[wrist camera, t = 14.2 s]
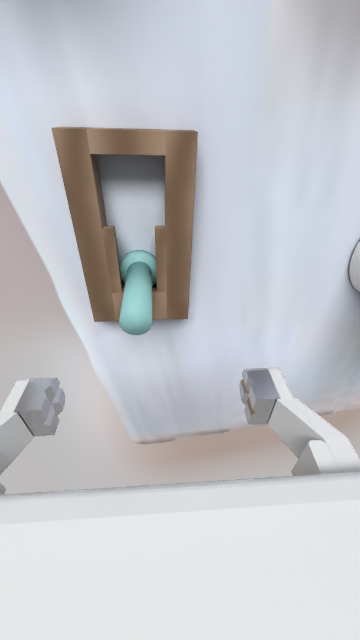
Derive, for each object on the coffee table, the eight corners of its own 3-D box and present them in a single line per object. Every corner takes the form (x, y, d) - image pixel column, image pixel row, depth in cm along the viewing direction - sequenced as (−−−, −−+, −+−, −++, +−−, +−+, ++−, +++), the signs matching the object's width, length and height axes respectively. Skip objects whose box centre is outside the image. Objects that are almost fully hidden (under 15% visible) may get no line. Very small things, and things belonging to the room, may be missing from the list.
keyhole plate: (193, 130, 25) (197, 131, 22) (185, 305, 37) (187, 318, 35) (61, 126, 24) (51, 127, 21) (98, 308, 36) (94, 321, 34)
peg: (158, 250, 32) (161, 300, 23) (159, 284, 35) (162, 341, 26) (118, 250, 31) (105, 301, 23) (122, 285, 34) (112, 342, 25)
